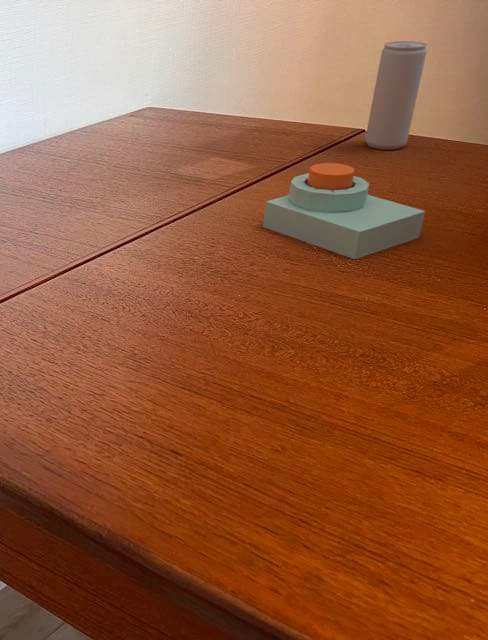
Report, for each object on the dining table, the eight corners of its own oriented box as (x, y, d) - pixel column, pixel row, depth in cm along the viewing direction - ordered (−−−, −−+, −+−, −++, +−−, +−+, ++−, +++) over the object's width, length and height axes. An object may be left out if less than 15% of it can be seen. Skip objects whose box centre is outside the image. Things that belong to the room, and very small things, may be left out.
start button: (360, 187, 83) (364, 169, 82) (331, 195, 81) (334, 177, 80) (326, 178, 86) (329, 160, 85) (298, 185, 84) (300, 168, 83)
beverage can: (392, 153, 106) (414, 49, 99) (356, 146, 109) (375, 45, 103) (413, 145, 108) (436, 43, 102) (377, 138, 111) (397, 39, 105)
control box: (419, 238, 82) (430, 192, 79) (354, 260, 78) (364, 212, 76) (324, 208, 90) (331, 166, 88) (262, 227, 87) (268, 183, 84)
